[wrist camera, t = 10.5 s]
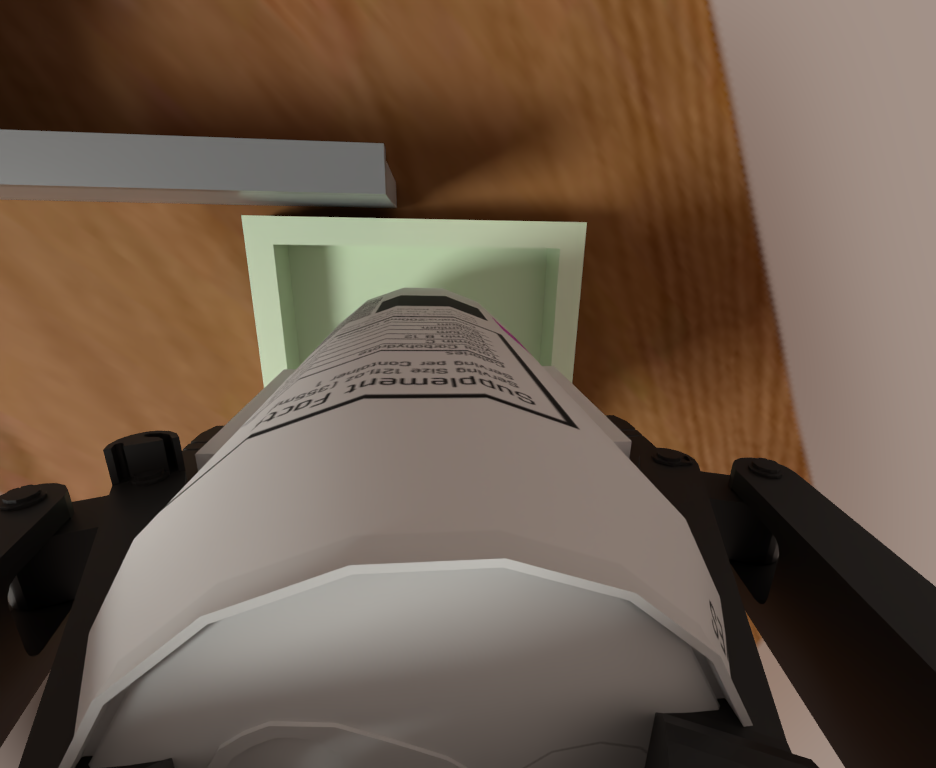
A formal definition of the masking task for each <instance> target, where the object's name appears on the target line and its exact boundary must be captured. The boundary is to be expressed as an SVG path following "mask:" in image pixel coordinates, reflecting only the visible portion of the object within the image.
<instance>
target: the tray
mask: <svg viewBox="0 0 936 768" xmlns="http://www.w3.org/2000/svg"><path fill="white" fill-rule="evenodd" d="M241 217H242V224H243V232H244V239H245V247H246V254H247V262H248V270H249V277H250V285H251V292H252V300H253V307H254V315H255V322H256V330H257V338H258V345H259V353H260V360H261V368H262V375H263V383H264V388H265V387H266V386H267V385H268V384H269V383H270V382H271V381H272V380H273V379H274V378H275V377H276V376H277V375H279V374H280V373H281V372H282V371H283V370H284V369H297V368H298V367H299V366H300V365H301V364H302V363H303V362H304V361H305V360H306V358H307V357H308V356H309V355H310V354H311V353H312V352H313V351H314V350H315V349H316V348H317V347H318V346H319V345H320V344H321V343H322V342H323V341H324V340H325V339H326V338H327V337H328V335H329V334H330V333H331V332H332V331H333V330H334V329H335V328H336V327H337V326H338V325H339V324H340V323H341V322H343V321H344V320H345V319H346V318H347V317H348V316H350V315H351V314H352V313H353V312H354V311H356V310H357V309H358V308H359V307H360V306H361V305H363V304H364V303H365V302H366V301H367V300H370V299H373V298H375V297H378V296H381V295H384V294H387V293H390V292H392V291H395V290H398V289H401V288H443V289H446V290H448V291H451V292H453V293H456V294H458V295H461V296H464V297H466V298H469V299H471V300H474V301H476V302H478V303H479V304H480V305H481V306H482V307H484V308H485V309H486V310H487V311H488V312H489V313H490V314H491V315H493V316H494V317H495V318H496V319H497V320H498V321H499V322H500V323H502V324H503V325H504V326H505V327H506V328H507V329H508V330H509V332H510V333H511V334H512V335H513V336H514V337H515V338H516V339H517V340H518V341H519V342H520V343H521V344H522V345H523V346H524V347H525V349H526V350H527V351H528V352H529V353H530V354H531V355H532V356H533V357H534V358H535V359H536V360H537V361H538V362H539V363H540V365H541V366H554V367H555V368H557V369H558V370H559V371H560V372H561V373H562V374H563V375H564V376H565V377H566V378H567V379H568V380H569V381H570V382H571V383H572V380H573V369H574V358H575V347H576V336H577V325H578V314H579V303H580V292H581V281H582V271H583V260H584V249H585V238H586V227H587V222H545V221H496V220H446V219H397V218H348V217H298V216H249V215H241Z"/></svg>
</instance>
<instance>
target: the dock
mask: <svg viewBox="0 0 936 768" xmlns="http://www.w3.org/2000/svg"><path fill="white" fill-rule="evenodd" d="M0 199H8V200H53V201H97V202H142V203H186V204H231V205H275V206H320V207H364V208H397V198H396V181H395V179H394V177H393V175H392V173H391V171H390V168H389V166H388V164H387V162H386V148H385V145H384V143H359V142H332V141H304V140H277V139H249V138H222V137H194V136H167V135H140V134H112V133H85V132H57V131H30V130H2V129H0Z"/></svg>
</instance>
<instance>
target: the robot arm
mask: <svg viewBox="0 0 936 768" xmlns="http://www.w3.org/2000/svg"><path fill="white" fill-rule="evenodd" d="M542 367H543V368H544V369H545V370H546V371H547V372H548V373H549V374H550V375H551V376H552V377H553V378H554V379H555V380H556V382H557V383H558V384H559V385H560V386H561V387H562V388H563V389H564V390H565V391H566V392H567V393H568V394H569V395H570V396H571V398H572V399H573V400H574V401H575V402H576V403H577V404H578V405H579V406H580V407H581V408H582V409H583V410H584V411H585V412H586V414H587V415H588V416H589V417H590V418H591V419H592V420H593V421H594V422H595V423H596V424H597V425H598V426H599V427H600V428H601V429H602V431H603V432H604V433H605V434H606V435H607V436H608V437H609V438H610V439H611V440H612V441H613V442H614V443H615V444H616V445H617V447H618V448H619V449H620V450H621V451H622V452H623V453H624V454H625V455H626V456H627V457H628V458H629V459H630V460H631V461H632V462H633V464H634V465H635V466H636V467H637V468H638V469H639V470H640V471H641V472H642V473H643V474H644V475H645V476H646V477H647V478H648V480H649V481H650V482H651V483H652V484H653V485H654V486H655V487H656V488H657V489H658V490H659V491H660V492H661V493H662V494H663V496H664V497H665V498H666V499H667V500H668V501H669V502H670V503H671V504H672V505H673V506H674V507H675V508H676V509H677V510H678V511H679V513H680V514H681V515H682V516H683V517H684V518H685V519H686V521H687V524H688V526H689V528H690V530H691V533H692V535H693V537H694V539H695V542H696V544H697V546H698V549H699V551H700V553H701V555H702V558H703V560H704V562H705V564H706V567H707V569H708V571H709V574H710V576H711V578H712V580H713V583H714V585H715V587H716V589H717V592H718V594H719V596H720V601H721V608H722V615H723V621H724V628H725V635H726V641H727V648H728V657H729V667H730V676H731V679H732V682H733V684H734V686H735V688H736V690H737V692H738V694H739V697H740V699H741V701H742V703H743V705H744V707H745V709H746V711H747V714H748V716H749V718H750V720H751V722H752V724H753V726H745V727H744V726H743V725H742V723H741V722H740V720H739V719H738V717H737V716H736V714H735V713H734V711H733V709H732V708H731V706H730V705H729V703H728V702H727V700H726V699H725V698H718V699H717V701H718V703H719V705H720V708H719V710H712V711H701V712H688V713H658V712H656V713H655V718H654V723H653V728H652V733H651V738H650V743H649V748H648V753H647V758H646V763H645V768H819V767H818V766H817V765H816V764H815V763H814V762H813V761H812V760H811V759H808V758H805V757H801V756H798V755H795V754H792V753H791V750H790V748H789V746H788V743H787V741H786V738H785V734H784V731H783V728H782V725H781V722H780V719H779V716H778V712H777V709H776V706H775V703H774V700H773V697H772V694H771V691H770V688H769V685H768V681H767V678H766V675H765V672H764V669H763V666H762V662H761V659H760V656H759V653H758V650H757V647H756V644H755V641H754V637H753V634H752V631H751V628H750V625H749V622H748V619H747V615H746V613H747V614H748V616H749V617H750V619H751V620H752V622H753V624H754V625H755V627H756V628H757V630H758V631H759V633H760V635H761V636H762V638H763V639H764V641H765V642H766V644H767V646H768V647H769V649H770V650H771V652H772V653H773V655H774V656H775V658H776V659H777V661H778V663H779V664H780V666H781V667H782V669H783V671H784V672H785V674H786V675H787V677H788V679H789V680H790V682H791V683H792V684H793V686H794V688H795V689H796V691H797V693H798V694H799V696H800V697H801V699H802V700H803V702H804V703H805V705H806V707H807V708H808V710H809V711H810V713H811V715H812V716H813V717H814V719H815V721H816V722H817V724H818V726H819V727H820V729H821V730H822V732H823V733H824V735H825V736H826V738H827V740H828V741H829V743H830V744H831V746H832V747H833V749H834V751H835V752H836V754H837V755H838V757H839V759H840V760H841V761H842V763H843V765H844V766H845V768H936V587H935V586H934V585H933V584H932V583H930V582H929V581H928V580H926V579H925V578H924V577H923V576H922V575H920V574H919V573H918V572H917V571H916V570H914V569H913V568H912V567H911V566H909V565H908V564H907V563H906V562H904V561H903V560H902V559H901V558H900V557H898V556H897V555H896V554H895V553H893V552H892V551H891V550H890V549H889V548H887V547H886V546H885V545H883V544H882V543H881V542H880V541H879V540H878V539H876V538H875V537H874V536H873V535H871V534H870V533H869V532H868V531H866V530H865V529H864V528H863V527H861V526H860V525H859V524H858V523H856V522H855V521H854V520H853V519H852V518H850V517H849V516H848V515H847V514H846V513H844V512H843V511H842V510H841V509H839V508H838V507H837V506H836V505H835V504H833V503H832V502H831V501H830V500H828V499H827V498H826V497H825V496H823V495H822V494H821V493H820V492H819V491H817V490H816V489H815V488H814V487H812V486H811V485H810V484H809V483H808V482H806V481H805V480H804V479H803V478H801V477H800V476H799V475H798V474H796V473H795V472H794V471H792V470H790V469H789V468H787V467H785V466H783V465H780V464H778V463H777V462H775V461H772V460H767V459H764V458H740V459H737V460H735V461H734V463H733V465H732V470H731V474H730V475H724V474H716V473H708V472H702V471H700V468H699V465H698V463H697V462H696V461H695V459H693V458H692V457H690V456H689V455H687V454H684V453H682V452H679V451H676V450H671V449H667V448H656V447H655V446H654V445H653V444H652V443H651V442H650V441H648V440H647V439H646V438H645V437H644V436H642V434H641V433H639V432H638V431H637V430H635V428H634V427H633V426H632V425H630V424H629V423H628V422H627V421H625V420H623V419H621V418H618V417H616V416H614V415H606V416H605V415H604V414H603V413H602V412H601V411H600V410H599V409H598V408H597V407H596V406H595V405H594V404H593V403H592V402H591V401H590V400H589V399H588V398H586V397H585V396H584V395H583V394H582V393H581V392H580V391H579V390H578V389H577V388H576V387H575V386H574V385H573V384H572V383H571V382H570V381H569V380H568V379H567V378H566V377H565V376H564V375H563V374H562V373H561V372H560V371H559V370H558V369H557V368H555V367H554V366H542ZM295 370H296V369H284V370H283V371H282V372H281V373H280V374H279V375H277V376H276V377H275V378H274V379H273V380H272V381H271V382H270V383H269V384H268V385H267V386H266V387H265V388H264V389H263V390H262V391H261V392H260V393H259V394H258V395H257V396H255V397H254V398H253V399H252V400H251V401H250V402H249V403H248V404H247V405H246V406H245V407H244V408H243V409H242V410H241V411H240V412H239V413H238V414H237V415H236V416H234V417H233V418H232V419H231V420H230V421H229V422H228V423H227V424H226V425H225V426H215V427H213V428H211V429H209V430H207V431H205V432H203V433H201V434H200V435H198V436H197V437H196V438H195V439H194V440H193V441H192V442H191V444H188V445H187V446H186V447H185V448H184V449H183V451H182V450H181V445H180V440H179V436H178V435H177V433H174V432H171V431H150V432H143V433H138V434H134V435H130V436H127V437H124V438H121V439H118V440H116V441H114V442H112V443H110V444H109V445H107V446H106V448H105V449H104V450H103V451H104V455H105V459H106V463H107V466H108V470H109V474H110V478H111V482H112V488H111V491H110V494H109V495H107V496H103V497H97V498H92V499H86V500H81V501H75V502H71V499H70V495H69V492H68V489H67V488H66V486H65V485H62V484H57V483H49V484H39V485H27V486H22V487H21V488H16V489H12V490H10V491H8V492H7V493H5V494H3V495H0V747H1V746H2V744H3V743H4V741H5V739H6V738H7V736H8V735H9V733H10V731H11V730H12V729H13V727H14V726H15V724H16V723H17V721H18V719H19V718H20V716H21V715H22V713H23V712H24V710H25V709H26V707H27V705H28V704H29V702H30V701H31V699H32V698H33V696H34V694H35V693H36V692H37V690H38V688H39V687H40V685H41V684H42V682H43V681H44V679H45V678H46V676H47V675H48V673H49V672H50V674H49V677H48V680H47V683H46V686H45V690H44V692H43V695H42V698H41V701H40V704H39V707H38V710H37V713H36V716H35V719H34V722H33V726H32V728H31V731H30V734H29V737H28V741H27V743H26V746H25V749H24V752H23V755H22V758H21V761H20V764H19V767H18V768H59V766H60V764H61V762H62V760H63V758H64V756H65V754H66V752H67V750H68V748H69V746H70V744H71V742H72V740H73V738H74V732H75V726H76V719H77V712H78V705H79V698H80V691H81V684H82V677H83V670H84V664H85V657H86V650H87V643H88V636H89V632H90V630H91V627H92V625H93V623H94V621H95V619H96V617H97V615H98V613H99V611H100V609H101V607H102V604H103V602H104V600H105V598H106V596H107V594H108V592H109V590H110V588H111V586H112V584H113V582H114V579H115V577H116V575H117V573H118V571H119V569H120V567H121V565H122V563H123V561H124V559H125V556H126V554H127V552H128V550H129V548H130V546H131V544H132V542H133V540H134V538H135V537H136V536H137V535H138V534H139V533H140V532H141V531H142V530H143V529H144V528H145V527H146V526H147V525H148V524H149V523H150V522H151V521H152V520H153V519H154V518H155V516H156V515H157V514H158V513H159V512H160V511H161V510H162V509H163V508H164V507H165V506H166V505H167V504H168V503H169V502H170V501H171V500H172V499H173V498H174V497H175V496H176V495H177V493H178V492H179V491H180V490H181V489H182V488H183V487H184V486H185V485H186V484H187V483H188V482H189V481H190V480H191V479H192V478H193V477H194V476H195V475H196V474H197V473H198V472H199V470H200V469H201V468H202V467H203V466H204V465H205V464H206V463H207V462H208V461H209V460H210V459H211V458H212V457H213V456H214V455H215V454H216V453H217V452H218V451H219V450H220V448H221V447H222V446H223V445H224V444H225V443H226V442H227V441H228V440H229V439H230V438H231V437H232V436H233V435H234V434H235V433H236V432H237V431H238V430H239V429H240V428H241V427H242V425H243V424H244V423H245V422H246V421H247V420H248V419H249V418H250V417H251V416H252V415H253V414H254V413H255V412H256V411H257V410H258V409H259V408H260V407H261V406H262V405H263V403H264V402H265V401H266V400H267V399H268V398H269V397H270V396H271V395H272V394H273V393H274V392H275V391H276V390H277V389H278V388H279V387H280V386H281V385H282V384H283V383H284V382H285V380H286V379H287V378H288V377H289V376H290V375H291V374H292V373H293V372H294V371H295ZM745 611H746V612H745ZM50 670H51V671H50ZM92 757H93V756H83V757H81V759H80V760H79V762H78V763H77V765H76V766H75V768H90V767H89V763H90V761H91V759H92ZM105 768H175V767H174V764H173V760H172V758H168V759H165V760H161V761H154V762H147V763H141V764H134V765H127V766H116V767H105Z"/></svg>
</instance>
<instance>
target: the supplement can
mask: <svg viewBox="0 0 936 768" xmlns="http://www.w3.org/2000/svg"><path fill="white" fill-rule="evenodd" d="M718 698H725V699H726V700H727V702H728V703H729V705H730V706H731V708H732V709H733V711H734V713H735V714H736V716H737V717H738V719H739V720H740V722H741V723H742V725H743V726H744V727H745V726H753V724H752V722H751V720H750V718H749V716H748V714H747V711H746V709H745V707H744V705H743V703H742V701H741V699H740V697H739V694H738V692H737V690H736V688H735V686H734V684H733V682H732V679H731V676H730V667H729V657H728V648H727V641H726V635H725V628H724V621H723V615H722V608H721V601H720V596H719V594H718V592H717V589H716V587H715V585H714V583H713V580H712V578H711V576H710V574H709V571H708V569H707V567H706V564H705V562H704V560H703V558H702V555H701V553H700V551H699V549H698V546H697V544H696V542H695V539H694V537H693V535H692V533H691V530H690V528H689V526H688V524H687V521H686V519H685V518H684V517H683V516H682V515H681V514H680V513H679V511H678V510H677V509H676V508H675V507H674V506H673V505H672V504H671V503H670V502H669V501H668V500H667V499H666V498H665V497H664V496H663V494H662V493H661V492H660V491H659V490H658V489H657V488H656V487H655V486H654V485H653V484H652V483H651V482H650V481H649V480H648V478H647V477H646V476H645V475H644V474H643V473H642V472H641V471H640V470H639V469H638V468H637V467H636V466H635V465H634V464H633V462H632V461H631V460H630V459H629V458H628V457H627V456H626V455H625V454H624V453H623V452H622V451H621V450H620V449H619V448H618V447H617V445H616V444H615V443H614V442H613V441H612V440H611V439H610V438H609V437H608V436H607V435H606V434H605V433H604V432H603V431H602V429H601V428H600V427H599V426H598V425H597V424H596V423H595V422H594V421H593V420H592V419H591V418H590V417H589V416H588V415H587V414H586V412H585V411H584V410H583V409H582V408H581V407H580V406H579V405H578V404H577V403H576V402H575V401H574V400H573V399H572V398H571V396H570V395H569V394H568V393H567V392H566V391H565V390H564V389H563V388H562V387H561V386H560V385H559V384H558V383H557V382H556V380H555V379H554V378H553V377H552V376H551V375H550V374H549V373H548V372H547V371H546V370H545V369H544V368H543V367H542V366H541V365H540V363H539V362H538V361H537V360H536V359H535V358H534V357H533V356H532V355H531V354H530V353H529V352H528V351H527V350H526V349H525V347H524V346H523V345H522V344H521V343H520V342H519V341H518V340H517V339H516V338H515V337H514V336H513V335H512V334H511V333H510V332H509V330H508V329H507V328H506V327H505V326H504V325H503V324H502V323H500V322H499V321H498V320H497V319H496V318H495V317H494V316H493V315H491V314H490V313H489V312H488V311H487V310H486V309H485V308H484V307H482V306H481V305H480V304H479V303H478V302H476V301H474V300H471V299H469V298H466V297H464V296H461V295H458V294H456V293H453V292H451V291H448V290H446V289H443V288H401V289H398V290H395V291H392V292H390V293H387V294H384V295H381V296H378V297H375V298H373V299H370V300H367V301H366V302H365V303H364V304H363V305H361V306H360V307H359V308H358V309H357V310H356V311H354V312H353V313H352V314H351V315H350V316H348V317H347V318H346V319H345V320H344V321H343V322H341V323H340V324H339V325H338V326H337V327H336V328H335V329H334V330H333V331H332V332H331V333H330V334H329V335H328V337H327V338H326V339H325V340H324V341H323V342H322V343H321V344H320V345H319V346H318V347H317V348H316V349H315V350H314V351H313V352H312V353H311V354H310V355H309V356H308V357H307V358H306V360H305V361H304V362H303V363H302V364H301V365H300V366H299V367H298V368H297V369H296V370H295V371H294V372H293V373H292V374H291V375H290V376H289V377H288V378H287V379H286V380H285V382H284V383H283V384H282V385H281V386H280V387H279V388H278V389H277V390H276V391H275V392H274V393H273V394H272V395H271V396H270V397H269V398H268V399H267V400H266V401H265V402H264V403H263V405H262V406H261V407H260V408H259V409H258V410H257V411H256V412H255V413H254V414H253V415H252V416H251V417H250V418H249V419H248V420H247V421H246V422H245V423H244V424H243V425H242V427H241V428H240V429H239V430H238V431H237V432H236V433H235V434H234V435H233V436H232V437H231V438H230V439H229V440H228V441H227V442H226V443H225V444H224V445H223V446H222V447H221V448H220V450H219V451H218V452H217V453H216V454H215V455H214V456H213V457H212V458H211V459H210V460H209V461H208V462H207V463H206V464H205V465H204V466H203V467H202V468H201V469H200V470H199V472H198V473H197V474H196V475H195V476H194V477H193V478H192V479H191V480H190V481H189V482H188V483H187V484H186V485H185V486H184V487H183V488H182V489H181V490H180V491H179V492H178V493H177V495H176V496H175V497H174V498H173V499H172V500H171V501H170V502H169V503H168V504H167V505H166V506H165V507H164V508H163V509H162V510H161V511H160V512H159V513H158V514H157V515H156V516H155V518H154V519H153V520H152V521H151V522H150V523H149V524H148V525H147V526H146V527H145V528H144V529H143V530H142V531H141V532H140V533H139V534H138V535H137V536H136V537H135V538H134V540H133V542H132V544H131V546H130V548H129V550H128V552H127V554H126V556H125V559H124V561H123V563H122V565H121V567H120V569H119V571H118V573H117V575H116V577H115V579H114V582H113V584H112V586H111V588H110V590H109V592H108V594H107V596H106V598H105V600H104V602H103V604H102V607H101V609H100V611H99V613H98V615H97V617H96V619H95V621H94V623H93V625H92V627H91V630H90V632H89V636H88V643H87V650H86V657H85V664H84V670H83V677H82V684H81V691H80V698H79V705H78V712H77V719H76V726H75V732H74V738H73V740H72V742H71V744H70V746H69V748H68V750H67V752H66V754H65V756H64V758H63V760H62V762H61V764H60V766H59V768H75V766H76V765H77V763H78V762H79V760H80V759H81V757H83V756H93V757H92V759H91V761H90V763H89V767H90V768H105V767H116V766H127V765H134V764H141V763H147V762H154V761H161V760H165V759H168V758H172V760H173V764H174V767H175V768H645V763H646V758H647V753H648V748H649V743H650V738H651V733H652V728H653V723H654V718H655V713H656V712H658V713H688V712H701V711H712V710H719V708H720V705H719V703H718V701H717V699H718Z"/></svg>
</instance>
